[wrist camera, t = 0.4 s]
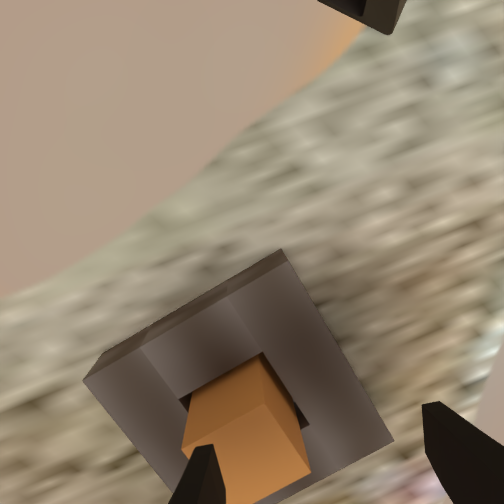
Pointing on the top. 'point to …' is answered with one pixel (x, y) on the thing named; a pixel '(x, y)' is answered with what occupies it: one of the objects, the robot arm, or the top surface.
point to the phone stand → (371, 12)
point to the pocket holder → (229, 356)
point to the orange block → (248, 430)
